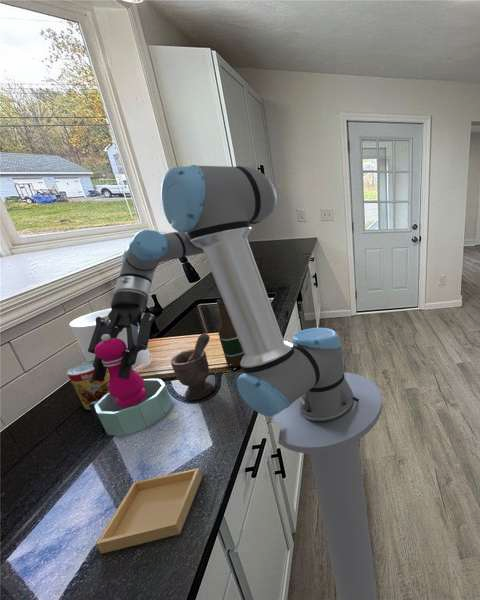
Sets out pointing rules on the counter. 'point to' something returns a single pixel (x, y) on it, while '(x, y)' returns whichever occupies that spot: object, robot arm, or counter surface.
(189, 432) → the counter surface
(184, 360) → the mortar and pestle
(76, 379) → the canned food
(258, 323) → the robot arm
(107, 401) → the green faceted bowl
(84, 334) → the canister
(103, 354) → the pepper mill
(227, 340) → the beer bottle
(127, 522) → the tray
